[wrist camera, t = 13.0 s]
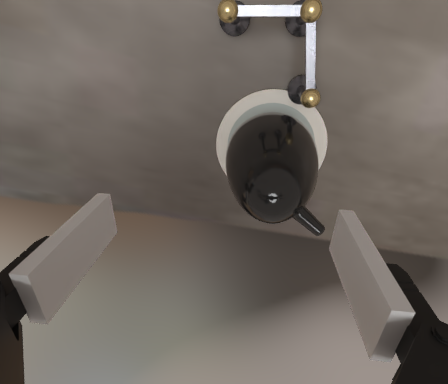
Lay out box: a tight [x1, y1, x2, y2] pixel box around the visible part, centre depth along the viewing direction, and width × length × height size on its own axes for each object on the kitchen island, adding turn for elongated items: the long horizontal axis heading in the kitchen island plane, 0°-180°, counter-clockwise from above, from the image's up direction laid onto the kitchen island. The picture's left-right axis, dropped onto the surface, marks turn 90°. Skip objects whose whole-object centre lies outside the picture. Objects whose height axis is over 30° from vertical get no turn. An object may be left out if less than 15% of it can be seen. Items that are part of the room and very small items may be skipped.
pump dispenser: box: [225, 112, 325, 236], centre depth 28 cm, size 10×10×15 cm
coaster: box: [216, 89, 327, 175], centre depth 35 cm, size 14×14×1 cm
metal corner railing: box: [218, 0, 322, 108], centre depth 28 cm, size 11×10×8 cm
